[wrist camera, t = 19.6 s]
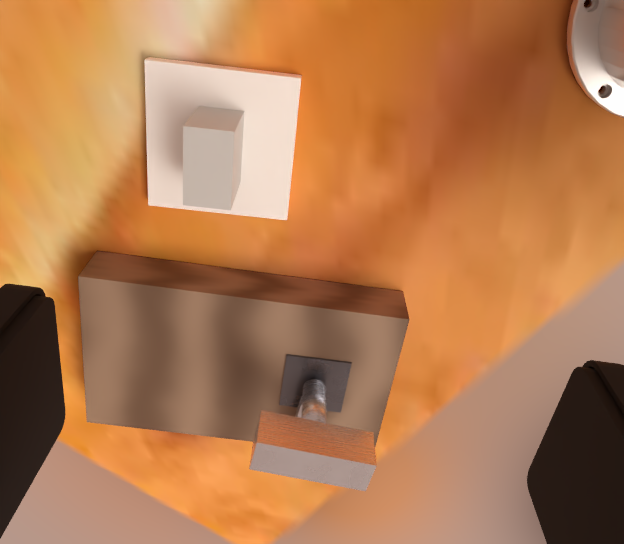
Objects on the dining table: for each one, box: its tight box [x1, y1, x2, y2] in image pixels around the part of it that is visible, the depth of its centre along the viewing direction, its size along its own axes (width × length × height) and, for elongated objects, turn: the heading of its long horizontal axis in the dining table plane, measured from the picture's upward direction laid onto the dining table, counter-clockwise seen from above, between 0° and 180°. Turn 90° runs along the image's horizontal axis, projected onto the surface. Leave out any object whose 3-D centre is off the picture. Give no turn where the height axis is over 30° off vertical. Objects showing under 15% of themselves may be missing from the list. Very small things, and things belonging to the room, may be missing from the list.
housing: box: [78, 251, 409, 446], centre depth 47 cm, size 24×14×4 cm, turn 82°
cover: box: [144, 57, 302, 220], centre depth 38 cm, size 10×10×6 cm
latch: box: [249, 379, 376, 491], centre depth 43 cm, size 8×8×8 cm
